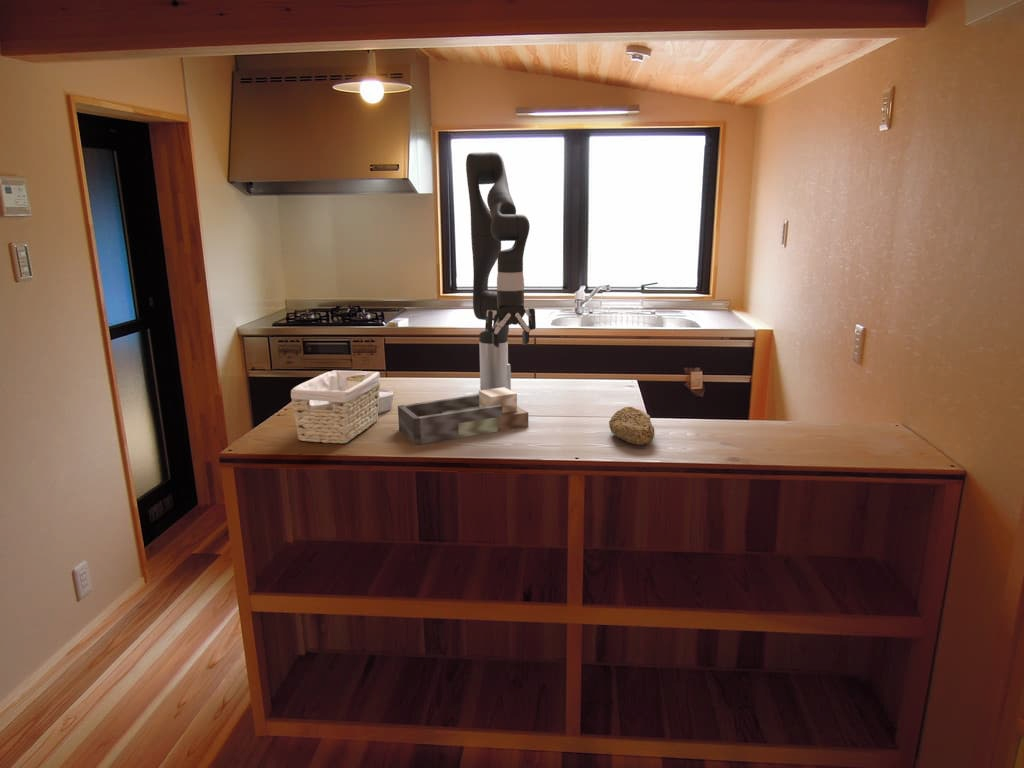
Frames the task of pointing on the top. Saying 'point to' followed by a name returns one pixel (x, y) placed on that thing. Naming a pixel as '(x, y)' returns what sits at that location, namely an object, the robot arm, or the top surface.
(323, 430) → the storage basket
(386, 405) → the ramekin
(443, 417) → the lane
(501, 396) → the block
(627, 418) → the sponge
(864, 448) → the top surface
